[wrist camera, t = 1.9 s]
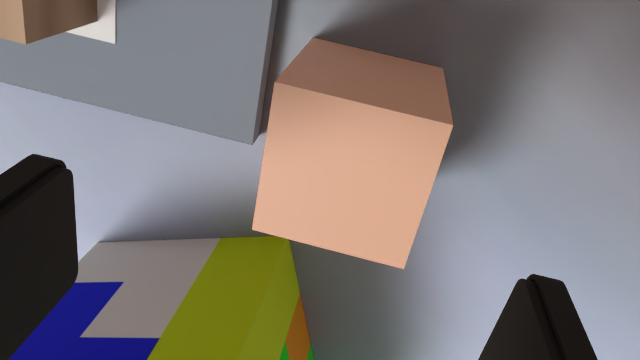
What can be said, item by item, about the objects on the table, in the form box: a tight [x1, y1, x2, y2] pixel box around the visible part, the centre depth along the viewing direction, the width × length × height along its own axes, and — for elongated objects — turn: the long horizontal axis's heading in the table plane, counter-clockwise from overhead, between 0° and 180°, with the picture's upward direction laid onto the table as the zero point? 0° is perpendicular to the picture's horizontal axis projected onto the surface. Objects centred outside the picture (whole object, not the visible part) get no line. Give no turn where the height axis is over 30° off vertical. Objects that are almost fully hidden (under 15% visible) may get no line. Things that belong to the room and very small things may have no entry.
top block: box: [252, 38, 453, 269], centre depth 18 cm, size 5×5×6 cm
